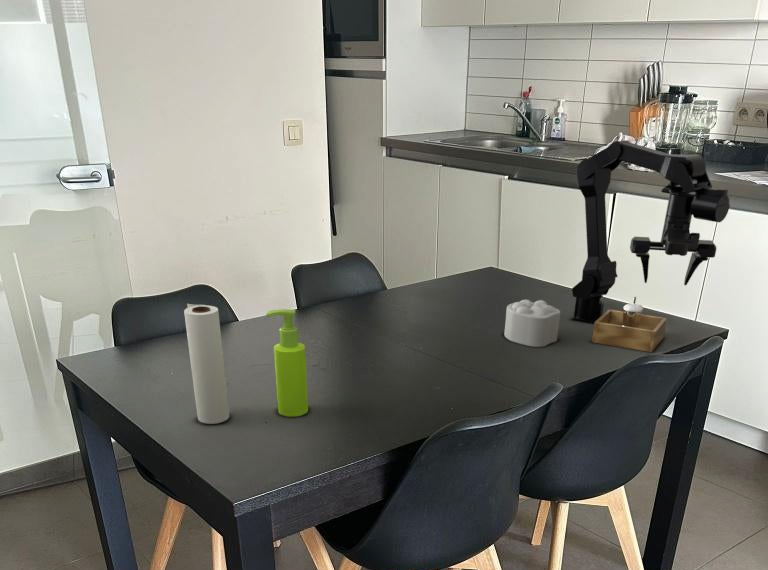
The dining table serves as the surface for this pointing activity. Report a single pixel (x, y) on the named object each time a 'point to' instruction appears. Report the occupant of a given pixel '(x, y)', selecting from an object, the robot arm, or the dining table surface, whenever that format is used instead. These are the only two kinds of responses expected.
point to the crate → (629, 331)
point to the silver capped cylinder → (632, 314)
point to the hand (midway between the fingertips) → (665, 283)
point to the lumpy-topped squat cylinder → (532, 323)
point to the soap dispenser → (290, 368)
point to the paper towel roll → (207, 363)
